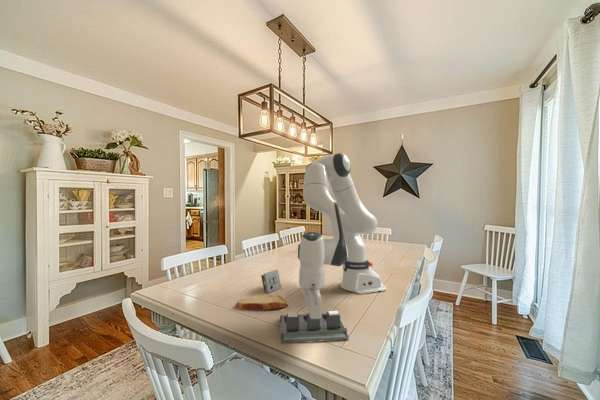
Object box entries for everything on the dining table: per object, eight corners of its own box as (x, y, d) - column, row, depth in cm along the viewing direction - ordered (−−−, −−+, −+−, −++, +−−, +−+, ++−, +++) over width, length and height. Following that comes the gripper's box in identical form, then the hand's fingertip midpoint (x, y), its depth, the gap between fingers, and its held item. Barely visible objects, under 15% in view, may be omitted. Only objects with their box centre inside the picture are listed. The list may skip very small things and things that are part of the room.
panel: (336, 316, 94) (336, 310, 94) (348, 339, 79) (348, 332, 79) (280, 319, 91) (280, 313, 91) (280, 343, 76) (280, 335, 76)
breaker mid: (318, 327, 83) (318, 311, 83) (319, 331, 81) (319, 315, 80) (306, 327, 83) (306, 311, 83) (307, 332, 80) (308, 315, 80)
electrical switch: (268, 293, 115) (267, 274, 115) (260, 292, 118) (259, 273, 119) (281, 288, 122) (280, 269, 123) (274, 286, 126) (273, 268, 126)
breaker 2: (337, 325, 84) (338, 310, 84) (340, 330, 81) (340, 314, 81) (326, 326, 84) (326, 310, 84) (328, 330, 81) (328, 314, 81)
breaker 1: (298, 327, 83) (298, 311, 83) (298, 332, 80) (299, 315, 80) (286, 328, 82) (286, 312, 82) (286, 332, 80) (286, 316, 80)
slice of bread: (231, 307, 102) (231, 298, 102) (264, 294, 115) (264, 286, 115) (258, 321, 90) (258, 312, 90) (291, 305, 104) (291, 296, 104)
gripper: (326, 291, 74) (326, 335, 75) (315, 270, 95) (315, 305, 95) (306, 291, 74) (305, 336, 74) (299, 270, 94) (299, 305, 94)
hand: (311, 318), depth 85 cm, fingers closed
